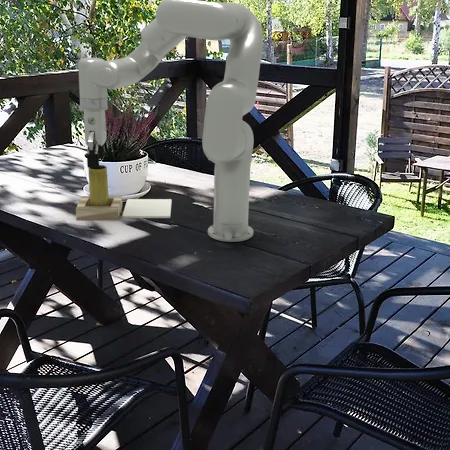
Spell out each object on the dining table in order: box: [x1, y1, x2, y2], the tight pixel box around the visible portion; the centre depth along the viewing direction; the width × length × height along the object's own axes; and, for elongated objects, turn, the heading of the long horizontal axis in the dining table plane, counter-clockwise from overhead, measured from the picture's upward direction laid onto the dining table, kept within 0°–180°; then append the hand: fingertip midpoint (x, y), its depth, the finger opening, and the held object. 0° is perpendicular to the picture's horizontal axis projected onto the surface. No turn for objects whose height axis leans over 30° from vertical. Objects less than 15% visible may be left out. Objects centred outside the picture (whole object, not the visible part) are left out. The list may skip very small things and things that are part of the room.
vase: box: [88, 164, 110, 206], centre depth 177 cm, size 6×6×14 cm
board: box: [121, 198, 173, 219], centre depth 184 cm, size 16×14×1 cm
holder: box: [75, 195, 123, 221], centre depth 179 cm, size 12×12×4 cm
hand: (95, 162), depth 174 cm, fingers open, 9 cm apart
